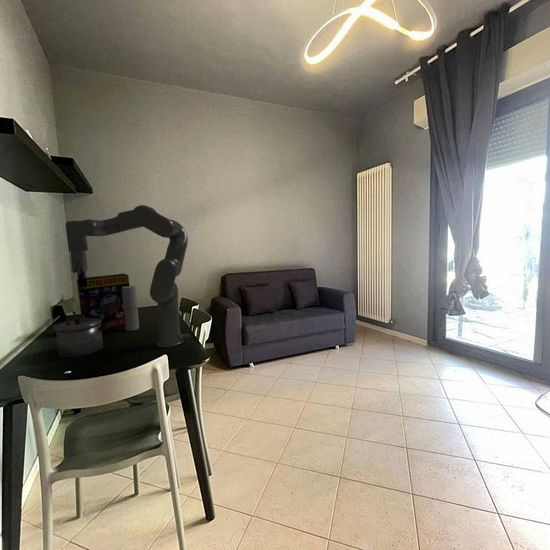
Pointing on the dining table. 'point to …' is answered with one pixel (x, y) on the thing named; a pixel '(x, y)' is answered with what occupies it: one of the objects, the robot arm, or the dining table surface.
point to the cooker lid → (77, 324)
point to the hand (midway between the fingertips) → (83, 286)
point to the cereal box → (104, 299)
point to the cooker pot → (79, 341)
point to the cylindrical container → (130, 308)
